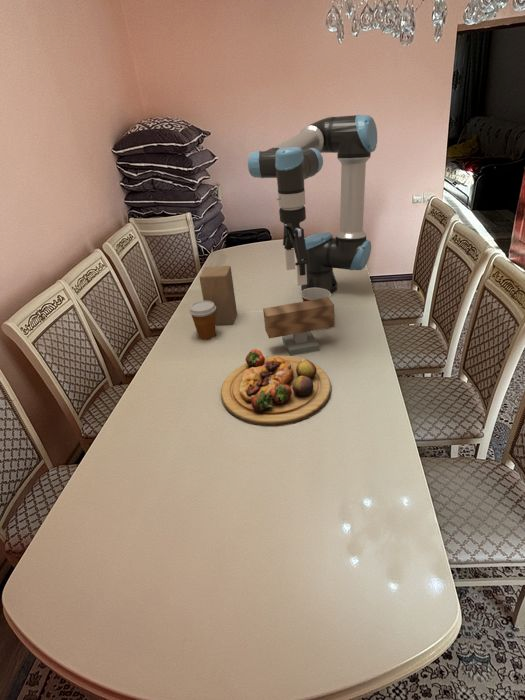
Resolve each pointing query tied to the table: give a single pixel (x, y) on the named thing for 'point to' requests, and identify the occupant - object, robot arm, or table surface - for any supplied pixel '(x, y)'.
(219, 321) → the wooden block
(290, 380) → the wooden plate with food
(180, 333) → the table surface
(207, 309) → the disposable coffee cup
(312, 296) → the plastic cup
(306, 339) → the pedestal
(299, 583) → the table surface
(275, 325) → the walnut beam
